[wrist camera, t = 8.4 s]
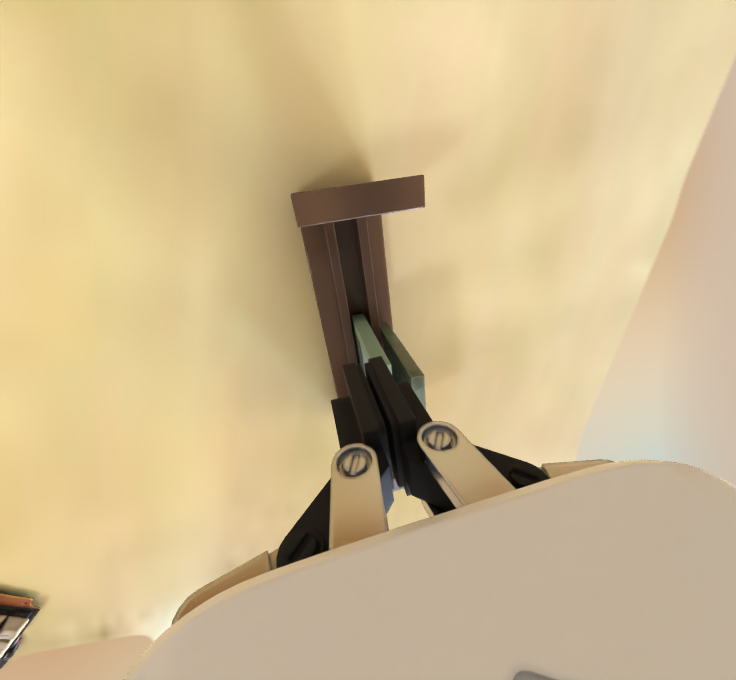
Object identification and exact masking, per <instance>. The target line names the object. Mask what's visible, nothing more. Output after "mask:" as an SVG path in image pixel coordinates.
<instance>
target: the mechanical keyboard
mask: <svg viewBox="0 0 736 680" xmlns="http://www.w3.org/2000/svg"><path fill="white" fill-rule="evenodd" d="M33 600H34V599H32V598H26V597H21V596H12V595H7V594H0V669H1V668H2V667H3V666H4V665H5V664H6V662H7V661H8V660H9V659H10V658H11V657H12V656H13V655H14V653H15V651H16V650H17V649H18V646H19V644H20V642H21V640H22V638H19V637H20V636H21V635H22V633H23V632H24V630H25V629H26V627H27V626H28V624H29V623H30V622H31V621H32V619H33V618H34V616H35V615H36V614H37V613H38V611H39V610H40V607H37V606H33V605H31V603H32V601H33ZM24 602H26V603H24Z"/></svg>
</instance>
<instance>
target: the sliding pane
mask: <svg viewBox="0 0 736 680" xmlns="http://www.w3.org/2000/svg"><path fill="white" fill-rule="evenodd" d="M351 318H352V324H353V330H354V336H355V342H356V348H357V354H358V360H359V365H360V364H361V367H362V369H363V371H364V374H365V376H366V373H365V367H364V363H368V359H370V358H374V357H378V356H382V358H383V360H384V362H385V363H386V365H387V367H388V369H389V370H390V372H391V374H392V369H391V364H390V362H389V360H388V358H387V356H386V355H385V353H384V351H383V349H382V347H381V345H380V344H379V342H378V340H377V338H376V336H375V334H374V333H373V331H372V329H371V327H370V325H369V324H368V322H367V320H366V318H365V316H364V314H363V313H361V314H356V315H351Z"/></svg>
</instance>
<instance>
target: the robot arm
mask: <svg viewBox="0 0 736 680" xmlns="http://www.w3.org/2000/svg"><path fill="white" fill-rule="evenodd" d="M364 367H365V373H366V376H365V374H364V371H363V369H362V367H361V364H360V365H356V364H355V362H353V363H349V364H344V365H342V369H343V374H344V379H345V384H346V389H347V394H348V396H346V397H342V398H338V399H334V400H331V404H332V409H333V414H334V419H335V424H336V429H337V434H338V439H339V444H340V450H339V451H338V452H337V453H336V454H335V456H334V457H333V459H332V464H331V479H330V480H329V481H328V482H327V484H326V485H325V486H324V488H323V489H322V490H321V492H320V493H319V494H318V495H317V497H316V498H315V499H314V501H313V502H312V503H311V505H310V506H309V507H308V508H307V510H306V511H305V512H304V514H303V515H302V516H301V518H300V519H299V520H298V521H297V523H296V524H295V525H294V527H293V528H292V529H291V531H290V532H289V533H288V534H287V536H286V537H285V538H284V540H283V542H282V543H281V545H280V547H279V549H277V550H275V551H273V552H272V553H270V554H269V553H268V551H266V552H264V553H262V554H260V555H259V556H257V557H255V558H253V559H251V560H250V561H248V562H246V563H244V564H243V565H241V566H239V567H237V568H235V569H234V570H232V571H230V572H228V573H227V574H225V575H223V576H221V577H220V578H218V579H216V580H214V581H212V582H211V583H209V584H207V585H205V586H204V587H202V588H200V589H198V590H197V591H196V592H194V593H193V594H192V595H190V596H189V597H188V598H187V599H186V600H185V601H184V603H183V604H182V605H181V606H180V607H179V609H178V611H177V613H176V615H175V617H174V619H173V621H172V625H171V627H170V628H168V629H167V630H166V631H165V632H164V633H163V634H162V635H161V636H159V637H158V638H157V639H156V640H155V641H154V642H153V643H152V644H151V645H150V646H149V647H148V648H147V649H146V650H145V651H144V652H143V654H142V655H141V656H140V657H139V658H138V660H137V661H136V662H135V663H134V665H133V666H132V667H131V669H130V670H129V672H128V673H127V675H126V676H125V678H124V679H123V680H736V486H734V485H732V484H730V483H729V482H727V481H725V480H723V479H721V478H719V477H717V476H715V475H713V474H711V473H709V472H707V471H704V470H702V469H700V468H697V467H693V466H690V465H686V464H681V463H676V462H668V461H655V460H631V461H620V462H613V461H610V460H601V459H600V460H586V461H573V462H560V463H547V464H542V467H541V468H538V467H536V466H534V465H532V464H530V463H528V462H524V461H521V460H518V459H515V458H512V457H509V456H506V455H503V454H500V453H497V452H494V451H491V450H487V449H484V448H481V447H478V446H475V445H473V444H472V443H471V442H470V441H469V440H468V439H467V438H466V437H465V436H464V435H463V434H462V433H461V432H460V431H459V430H458V429H457V428H456V427H455V426H453V425H452V424H449V423H447V422H442V421H432V419H431V418H430V416H429V415H428V413H427V411H426V410H425V408H424V407H423V405H422V403H421V402H420V400H419V398H418V397H417V395H416V394H415V392H414V390H413V389H412V387H411V386H410V384H409V383H408V382H407V381H406V382H402V383H398V384H397V383H396V381H395V379H394V378H393V376H392V374H391V372H390V370H389V369H388V367H387V365H386V363H385V362H384V360H383V358H382V356H378V357H374V358H370V359H368V363H364ZM392 472H393V473H392ZM393 474H394V477H395V480H396V482H397V485H398V487H399V488H400V487H404V489H405V491H406V494H407V496H408V495H413V496H415V497H417V498H419V499H421V501H422V504H423V507H424V509H425V510H426V512H427V514H428V515H429V518H426V519H423V520H420V521H417V522H414V523H411V524H408V525H405V526H402V527H399V528H396V529H393V530H390V531H389V528H388V521H387V515H386V514H387V513H388V511H389V509H390V507H391V505H392V503H393V501H394V498H393V490H394V489H395V488H394V480H393Z"/></svg>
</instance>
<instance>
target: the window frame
mask: <svg viewBox="0 0 736 680" xmlns="http://www.w3.org/2000/svg"><path fill="white" fill-rule="evenodd" d="M291 199H292V203H293V208H294V212H295V217H296V221H297V225H298V227H299V228H300V227H301V232H302V236H303V241H304V245H305V250H306V255H307V259H308V264H309V268H310V273H311V277H312V282H313V286H314V291H315V295H316V300H317V305H318V309H319V314H320V318H321V323H322V327H323V332H324V336H325V341H326V345H327V350H328V355H329V359H330V364H331V368H332V373H333V377H334V382H335V386H336V391H337V396H338V398H342V397H346V396H348V394H347V389H346V384H345V379H344V374H343V369H342V365H344V364H349V363H353V362H355V364H356V365H359V360H358V354H357V348H356V342H355V336H354V330H353V324H352V318H351V315H356V314H361V313H363V314H364V316H365V318H366V320H367V322H368V324H369V325H370V327H371V329H372V331H373V333H374V334H375V336H376V338H377V340H378V342H379V344H380V345H381V347H382V349H383V351H384V353H385V355H386V356H387V358H388V360H389V362H390V364H391V369H392V376H393V378H394V379H395V381H396V383H397V384H398V383H402V382H406V381H407V382H408V383H409V384H410V386H411V387H412V389H413V390H414V392H415V394H416V395H417V397H418V398H419V400H420V402H421V403H422V405H423V407H424V408H425V410H426V402H425V383H424V374H423V373H422V372H421V370H420V369H419V368H418V366H417V365H416V363H415V362H414V360H413V359H412V357H411V356H410V355H409V353H408V352H407V350H406V349H405V347H404V346H403V345H402V343H401V342H400V340H399V339H398V337H397V336H396V334H395V333H394V332H393V327H392V317H391V307H390V297H389V287H388V277H387V268H386V258H385V248H384V238H383V228H382V218H381V214H387V213H393V212H399V211H406V210H412V209H418V208H424V207H425V191H424V175H417V176H410V177H403V178H396V179H389V180H383V181H376V182H369V183H362V184H355V185H348V186H341V187H334V188H328V189H321V190H314V191H307V192H300V193H293V194H291ZM392 473H393V472H392ZM393 480H394V488H395V489H394V490H393V491H397V490H401V489H404V487H400V488H399V487H398V485H397V482H396V480H395V477H394V474H393Z"/></svg>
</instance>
